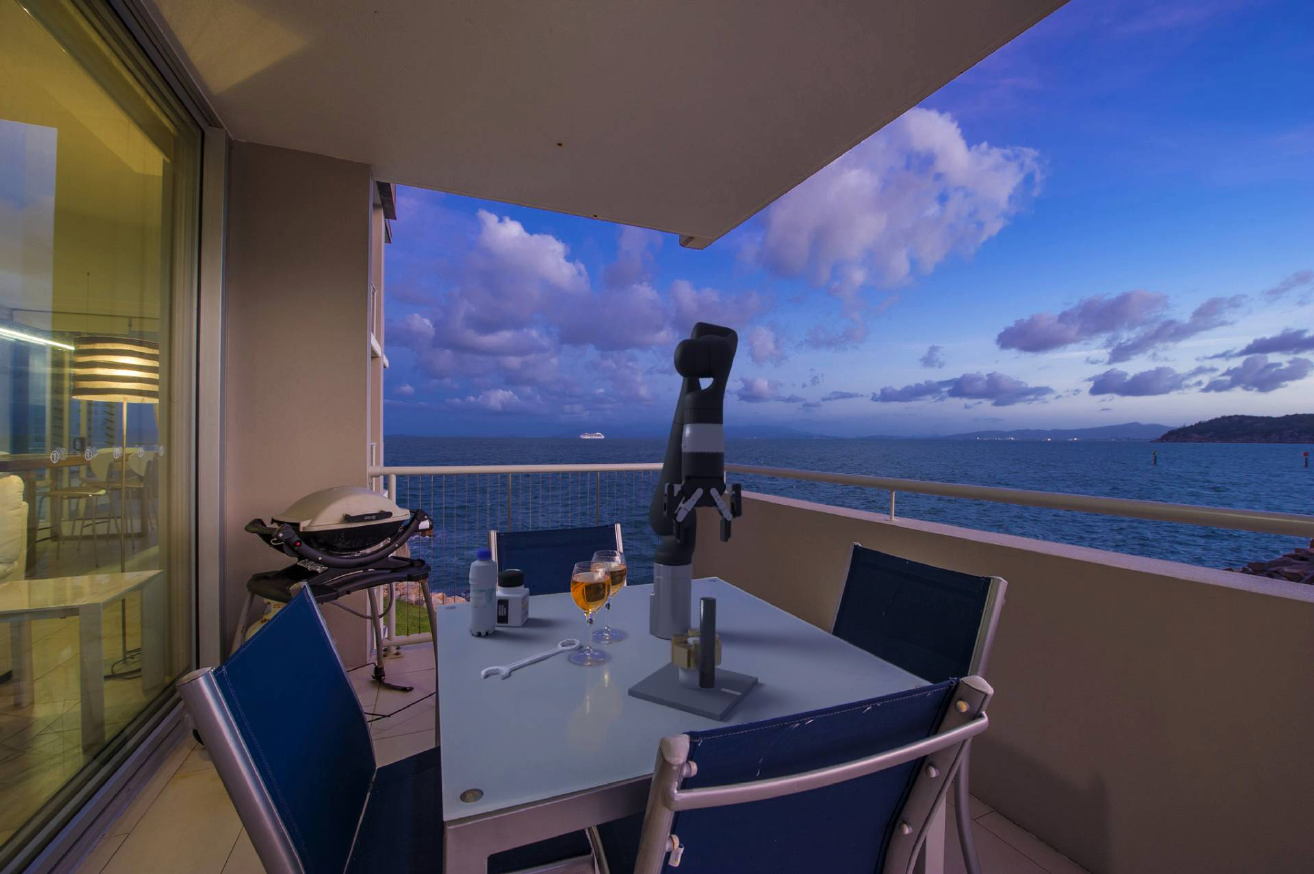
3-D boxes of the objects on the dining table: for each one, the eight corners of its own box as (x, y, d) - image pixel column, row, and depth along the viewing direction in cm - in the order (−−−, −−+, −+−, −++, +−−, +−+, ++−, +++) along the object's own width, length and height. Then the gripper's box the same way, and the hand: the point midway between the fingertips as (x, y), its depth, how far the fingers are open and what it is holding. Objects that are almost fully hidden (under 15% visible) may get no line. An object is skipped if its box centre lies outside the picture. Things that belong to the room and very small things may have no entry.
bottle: (461, 635, 131) (463, 550, 131) (480, 627, 137) (482, 545, 137) (484, 639, 128) (486, 552, 129) (502, 630, 134) (504, 548, 135)
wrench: (492, 685, 105) (492, 674, 105) (475, 677, 108) (475, 667, 108) (585, 650, 125) (585, 641, 125) (568, 645, 128) (568, 636, 128)
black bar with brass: (668, 651, 108) (669, 575, 108) (715, 650, 108) (716, 575, 109) (679, 693, 89) (681, 601, 89) (736, 692, 90) (737, 601, 90)
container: (521, 627, 138) (522, 574, 138) (490, 626, 138) (491, 573, 138) (528, 617, 145) (530, 567, 146) (499, 617, 146) (500, 567, 146)
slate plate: (628, 694, 100) (629, 644, 100) (676, 663, 116) (676, 619, 116) (719, 720, 91) (719, 665, 91) (758, 682, 106) (758, 635, 107)
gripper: (670, 449, 93) (669, 546, 93) (748, 450, 97) (748, 544, 97) (659, 449, 101) (658, 539, 100) (732, 450, 104) (731, 537, 104)
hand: (702, 541), depth 98 cm, fingers open, 8 cm apart
